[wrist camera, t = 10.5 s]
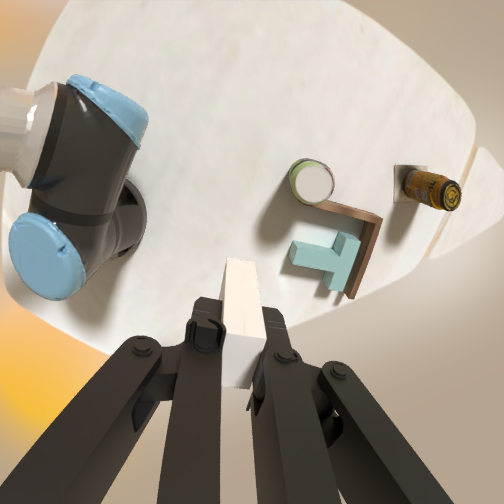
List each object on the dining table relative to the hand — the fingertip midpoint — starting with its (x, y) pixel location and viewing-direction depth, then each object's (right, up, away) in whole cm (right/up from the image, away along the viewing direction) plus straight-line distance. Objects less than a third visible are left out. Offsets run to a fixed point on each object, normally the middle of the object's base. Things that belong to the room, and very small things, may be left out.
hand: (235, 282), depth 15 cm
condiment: (+32, +15, +31) cm, 47 cm away
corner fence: (+15, +3, +35) cm, 38 cm away
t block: (+14, +1, +35) cm, 38 cm away
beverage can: (+9, +15, +30) cm, 35 cm away
